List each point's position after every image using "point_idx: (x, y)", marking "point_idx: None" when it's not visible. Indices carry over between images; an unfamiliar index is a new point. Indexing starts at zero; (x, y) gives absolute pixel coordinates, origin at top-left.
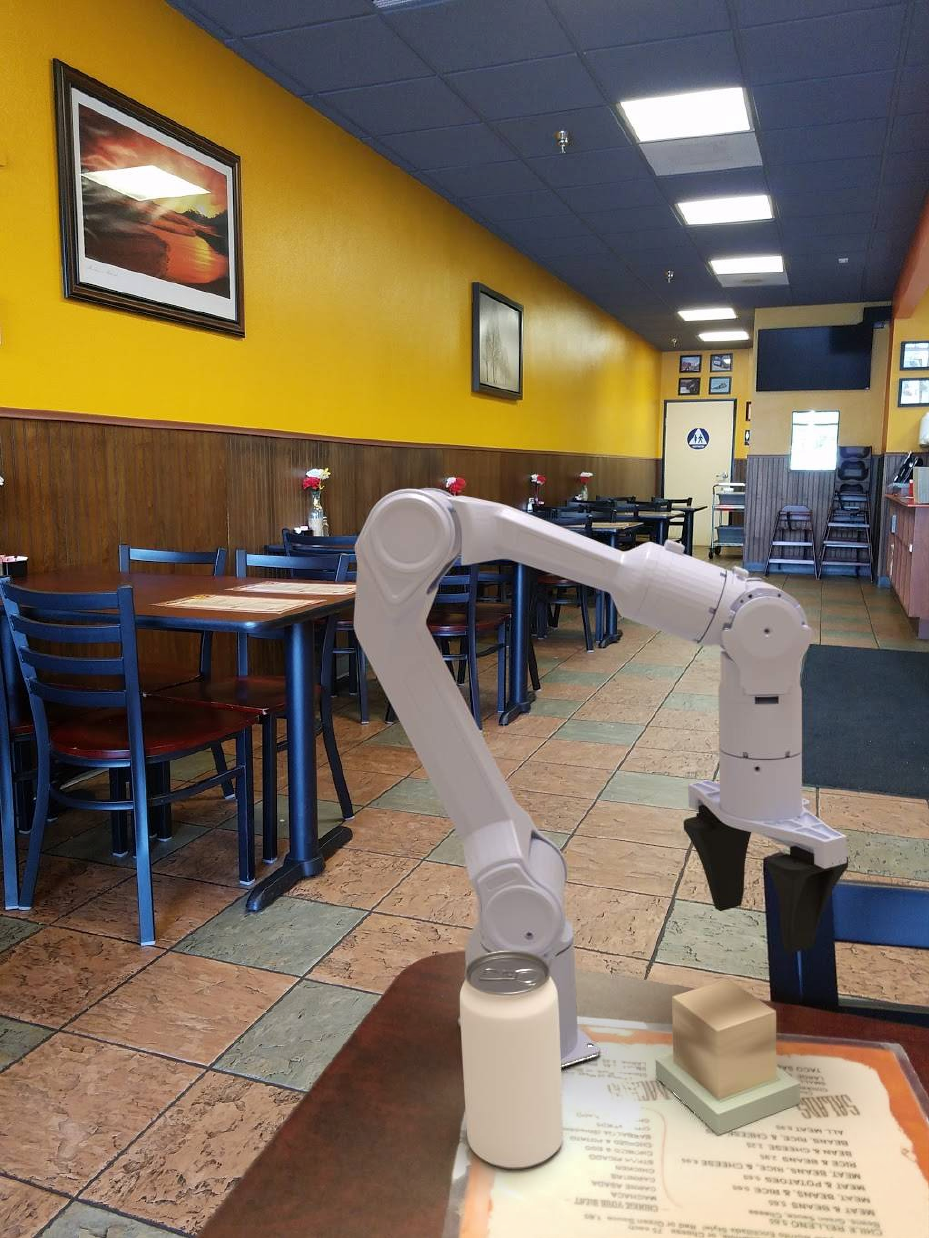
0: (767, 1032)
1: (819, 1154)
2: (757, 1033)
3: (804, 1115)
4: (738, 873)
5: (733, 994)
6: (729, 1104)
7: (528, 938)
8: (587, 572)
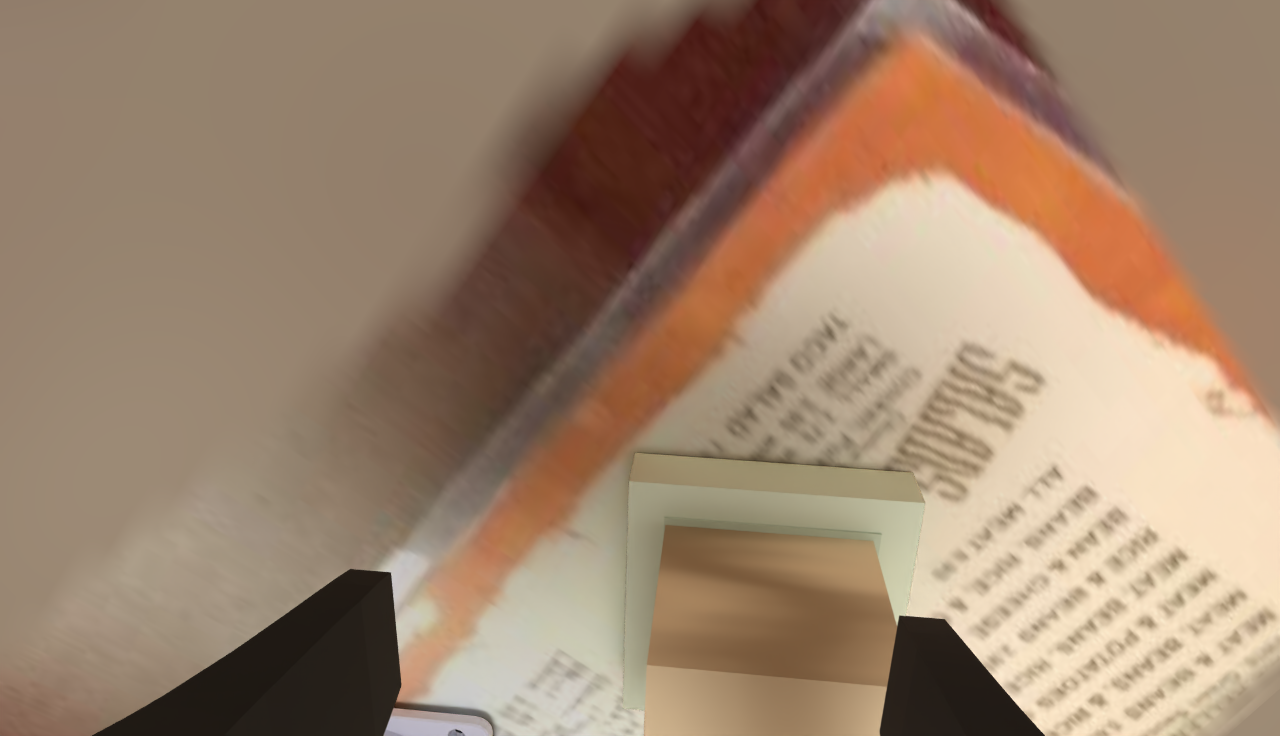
0: None
1: (1071, 569)
2: None
3: (952, 496)
4: (297, 713)
5: (740, 716)
6: None
7: None
8: None
